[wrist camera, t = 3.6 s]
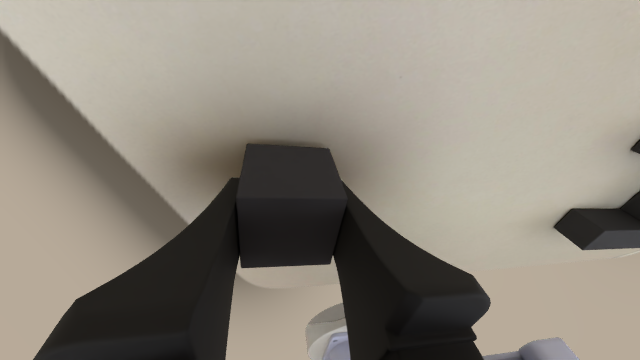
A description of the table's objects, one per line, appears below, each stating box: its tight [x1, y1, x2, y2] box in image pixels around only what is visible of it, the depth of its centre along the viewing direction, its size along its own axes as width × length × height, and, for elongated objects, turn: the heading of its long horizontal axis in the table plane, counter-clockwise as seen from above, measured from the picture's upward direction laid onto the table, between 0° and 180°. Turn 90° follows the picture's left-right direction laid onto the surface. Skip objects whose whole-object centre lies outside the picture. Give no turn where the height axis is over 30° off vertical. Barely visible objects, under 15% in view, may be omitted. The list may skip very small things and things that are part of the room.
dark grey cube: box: [236, 144, 348, 268], centre depth 11 cm, size 4×4×4 cm
